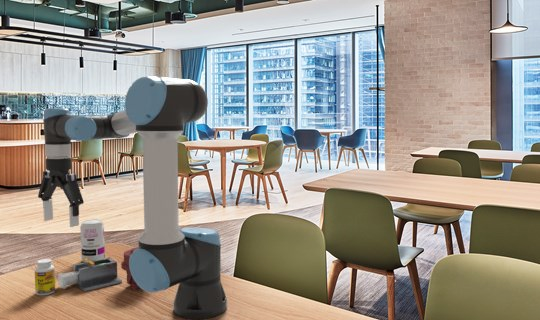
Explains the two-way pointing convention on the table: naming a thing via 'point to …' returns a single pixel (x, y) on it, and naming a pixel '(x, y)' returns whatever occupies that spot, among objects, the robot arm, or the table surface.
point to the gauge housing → (97, 274)
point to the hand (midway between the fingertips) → (61, 223)
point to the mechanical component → (126, 267)
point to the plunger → (71, 276)
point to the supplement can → (92, 240)
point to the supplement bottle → (44, 277)
